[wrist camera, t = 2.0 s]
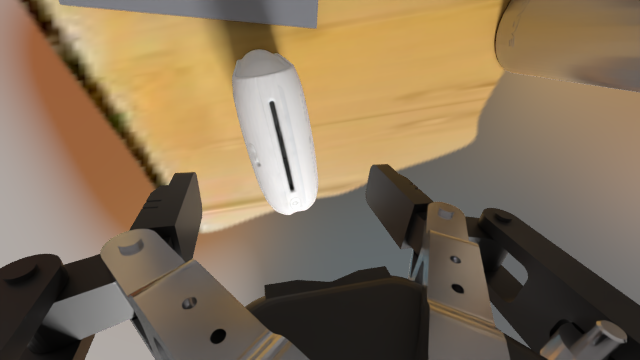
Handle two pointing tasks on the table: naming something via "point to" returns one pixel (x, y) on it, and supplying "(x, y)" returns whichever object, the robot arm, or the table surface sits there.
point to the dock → (219, 9)
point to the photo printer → (276, 129)
